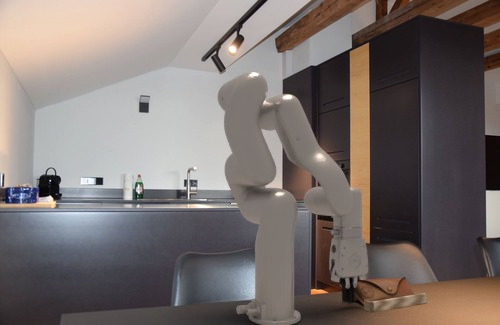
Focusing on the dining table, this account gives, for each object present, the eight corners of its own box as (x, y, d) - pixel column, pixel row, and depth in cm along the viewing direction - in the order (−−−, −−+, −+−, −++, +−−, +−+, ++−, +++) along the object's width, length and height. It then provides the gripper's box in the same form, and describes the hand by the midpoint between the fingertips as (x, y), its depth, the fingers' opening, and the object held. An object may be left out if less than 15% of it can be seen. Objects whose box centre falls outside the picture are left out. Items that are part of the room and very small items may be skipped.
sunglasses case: (365, 306, 116) (363, 280, 117) (351, 303, 122) (349, 279, 124) (420, 301, 121) (417, 276, 123) (404, 298, 128) (402, 275, 129)
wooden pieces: (371, 312, 111) (371, 302, 111) (342, 301, 121) (342, 292, 122) (426, 302, 120) (426, 293, 121) (394, 293, 131) (394, 285, 131)
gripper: (334, 236, 109) (335, 309, 108) (378, 233, 116) (379, 302, 115) (316, 233, 116) (317, 302, 115) (359, 230, 123) (360, 295, 122)
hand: (348, 301), depth 115 cm, fingers closed
